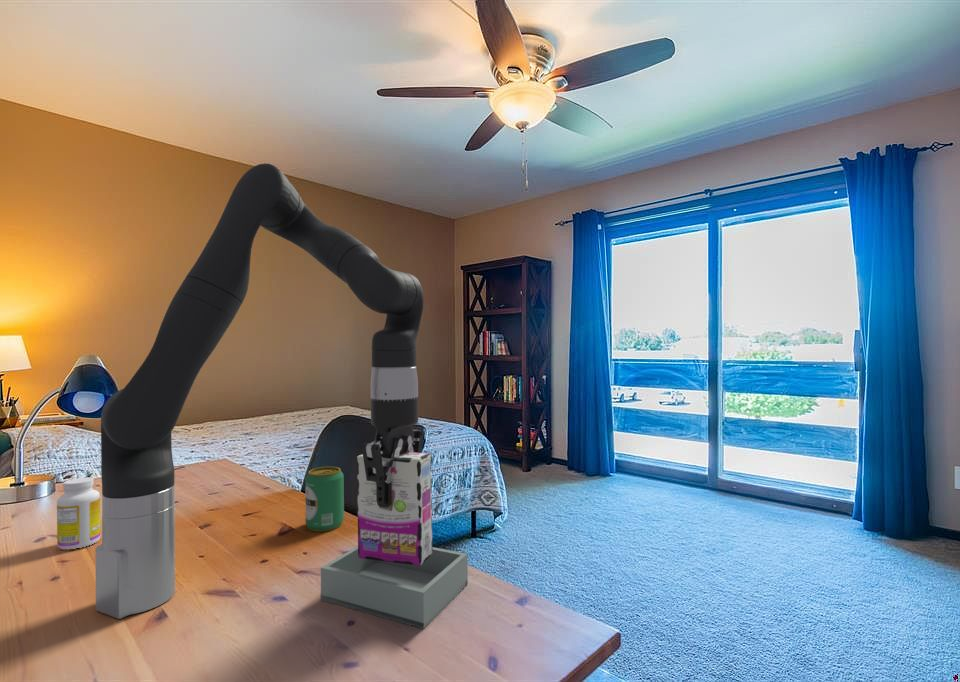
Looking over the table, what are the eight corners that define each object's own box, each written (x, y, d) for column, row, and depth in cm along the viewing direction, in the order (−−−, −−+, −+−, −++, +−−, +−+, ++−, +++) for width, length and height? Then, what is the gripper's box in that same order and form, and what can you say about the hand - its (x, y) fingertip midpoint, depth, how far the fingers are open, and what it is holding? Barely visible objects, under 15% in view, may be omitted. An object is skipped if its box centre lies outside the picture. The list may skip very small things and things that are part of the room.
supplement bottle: (95, 535, 102) (95, 474, 102) (104, 543, 97) (104, 479, 97) (53, 545, 96) (53, 481, 96) (61, 554, 92) (60, 487, 92)
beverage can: (299, 525, 106) (298, 470, 106) (332, 516, 112) (332, 464, 112) (316, 535, 100) (316, 477, 101) (350, 525, 106) (350, 470, 106)
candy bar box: (433, 553, 78) (433, 452, 78) (421, 567, 74) (420, 459, 74) (372, 545, 82) (371, 448, 81) (356, 558, 77) (355, 455, 77)
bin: (423, 628, 67) (423, 592, 67) (320, 599, 75) (320, 567, 75) (467, 584, 79) (467, 553, 79) (375, 563, 87) (375, 535, 87)
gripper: (387, 401, 69) (388, 519, 69) (437, 391, 83) (438, 490, 82) (346, 399, 73) (347, 512, 73) (400, 390, 86) (401, 485, 86)
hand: (395, 500), depth 78 cm, fingers closed on candy bar box, 5 cm apart
